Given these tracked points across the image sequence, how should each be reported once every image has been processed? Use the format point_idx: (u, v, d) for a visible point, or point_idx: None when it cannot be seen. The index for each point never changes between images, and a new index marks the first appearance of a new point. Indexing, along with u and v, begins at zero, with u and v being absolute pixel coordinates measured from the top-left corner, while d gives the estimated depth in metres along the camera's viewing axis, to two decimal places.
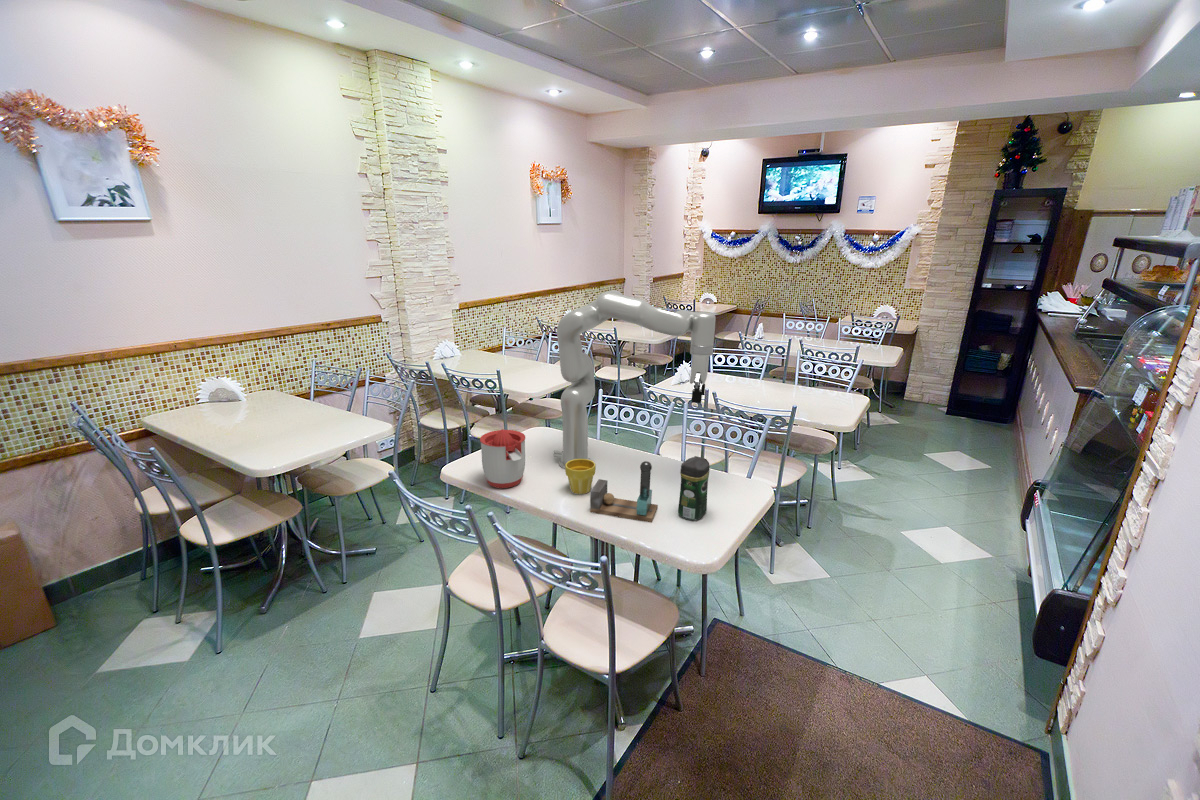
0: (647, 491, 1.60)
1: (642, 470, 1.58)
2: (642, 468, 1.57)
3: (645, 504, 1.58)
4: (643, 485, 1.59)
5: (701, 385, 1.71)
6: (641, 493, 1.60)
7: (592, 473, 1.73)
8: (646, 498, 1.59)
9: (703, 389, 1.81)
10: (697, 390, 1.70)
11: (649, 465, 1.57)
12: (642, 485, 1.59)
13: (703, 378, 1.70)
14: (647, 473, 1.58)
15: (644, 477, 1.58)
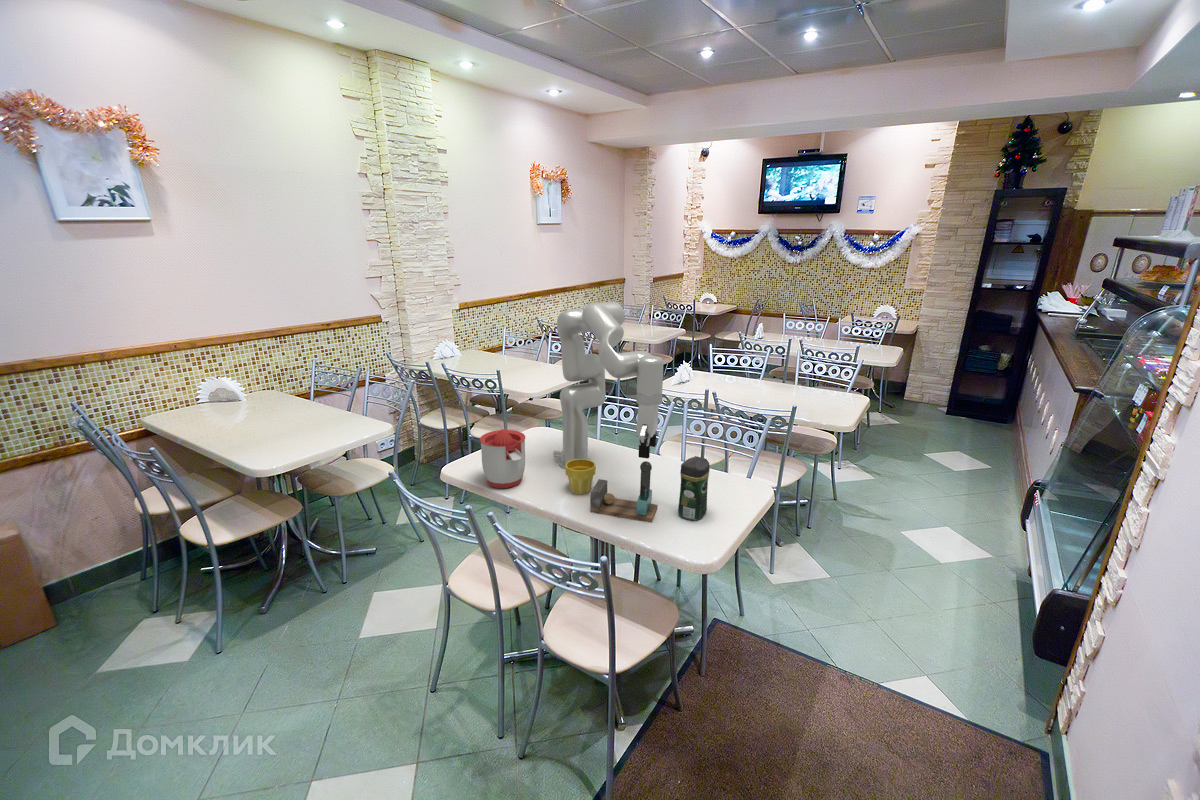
0: (647, 491, 1.60)
1: (642, 470, 1.58)
2: (642, 468, 1.57)
3: (645, 504, 1.58)
4: (643, 485, 1.59)
5: (648, 439, 1.50)
6: (641, 493, 1.60)
7: (592, 473, 1.73)
8: (646, 498, 1.59)
9: (654, 440, 1.60)
10: (644, 444, 1.49)
11: (649, 465, 1.57)
12: (642, 485, 1.59)
13: (650, 431, 1.49)
14: (647, 473, 1.58)
15: (644, 477, 1.58)
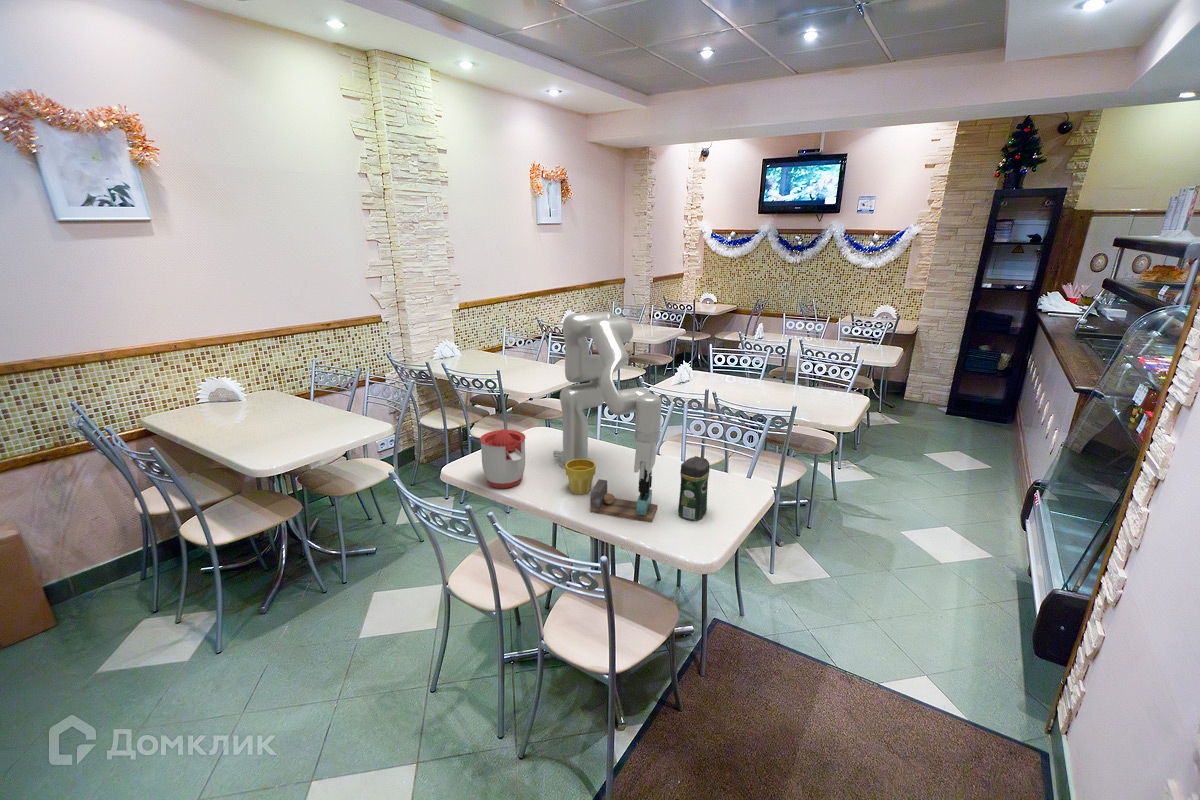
0: None
1: None
2: None
3: (645, 504, 1.58)
4: None
5: (647, 476, 1.56)
6: (641, 493, 1.60)
7: (592, 473, 1.73)
8: (646, 498, 1.59)
9: (650, 481, 1.61)
10: (643, 480, 1.56)
11: None
12: None
13: (648, 467, 1.53)
14: None
15: None
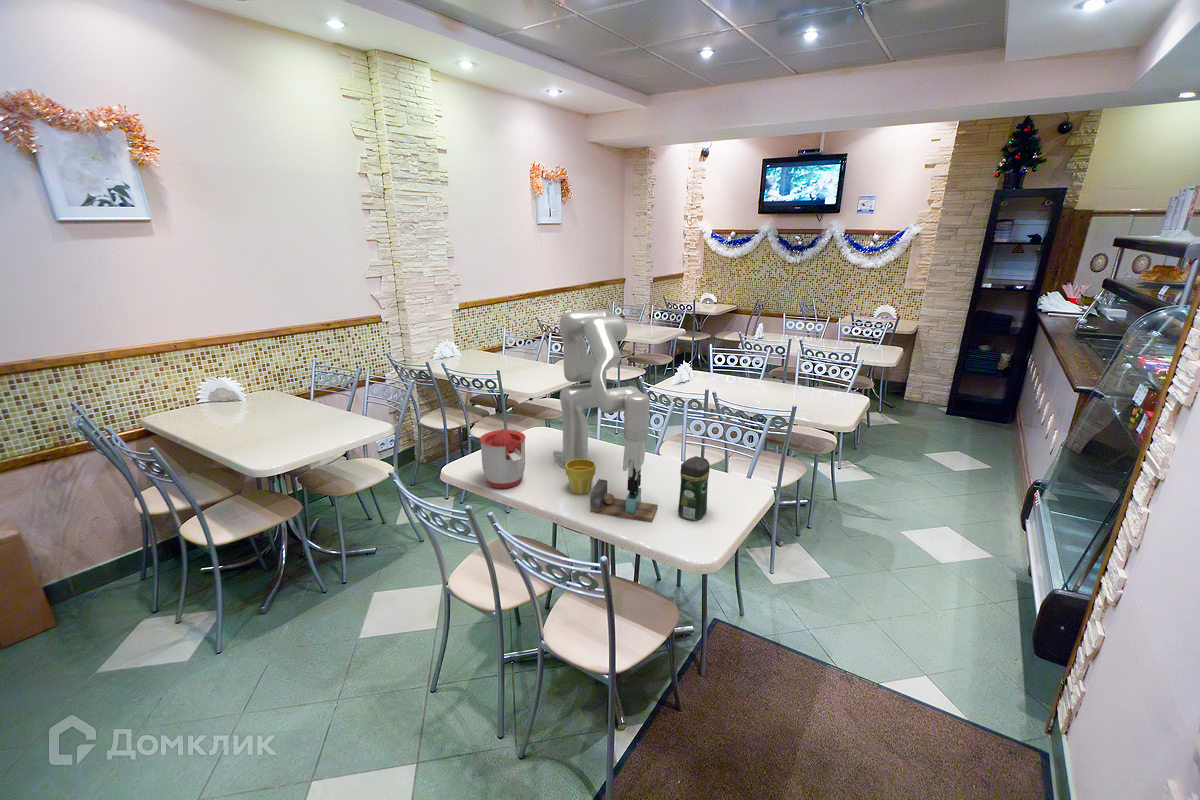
0: None
1: None
2: None
3: (634, 502, 1.59)
4: None
5: (636, 474, 1.57)
6: (630, 491, 1.61)
7: (592, 473, 1.73)
8: (635, 496, 1.60)
9: (639, 480, 1.62)
10: (632, 479, 1.57)
11: None
12: None
13: (637, 466, 1.54)
14: None
15: None
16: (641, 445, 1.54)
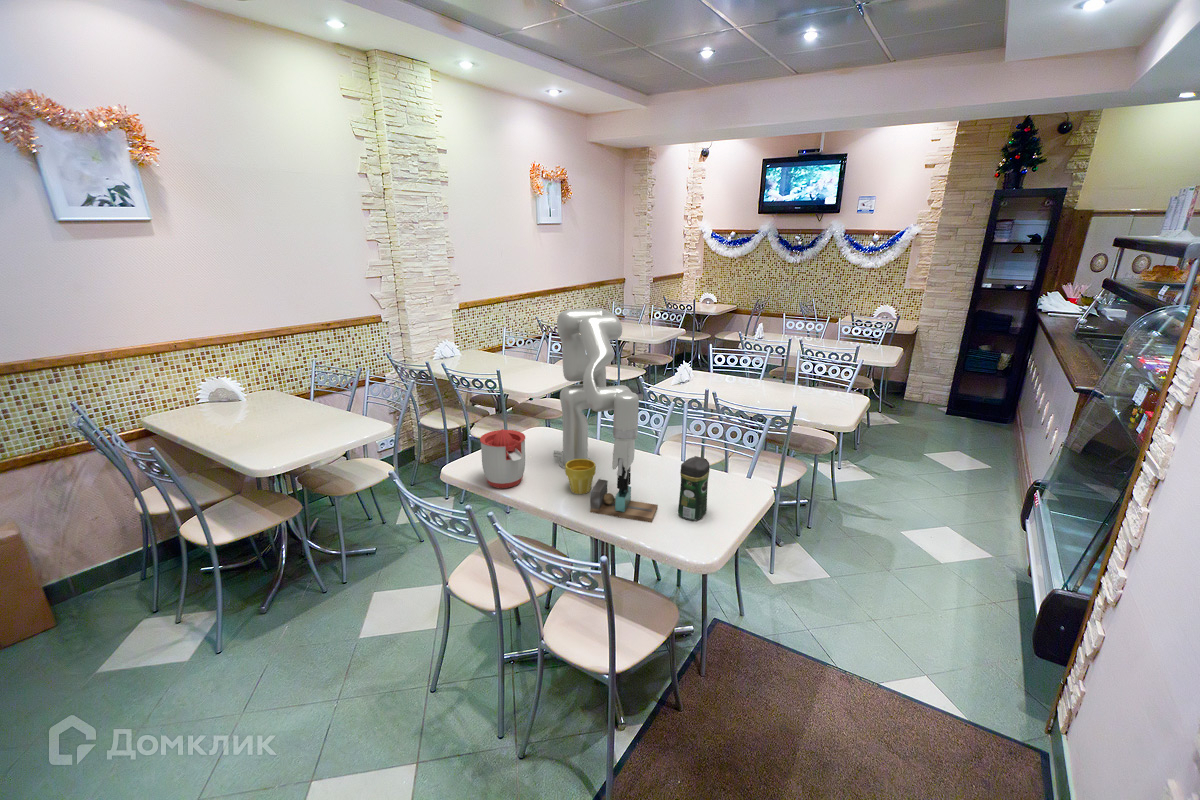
0: None
1: None
2: None
3: (623, 501, 1.60)
4: None
5: (625, 473, 1.58)
6: (620, 490, 1.62)
7: (592, 473, 1.73)
8: (624, 495, 1.61)
9: None
10: (622, 477, 1.58)
11: None
12: None
13: (626, 464, 1.55)
14: None
15: None
16: (630, 444, 1.55)
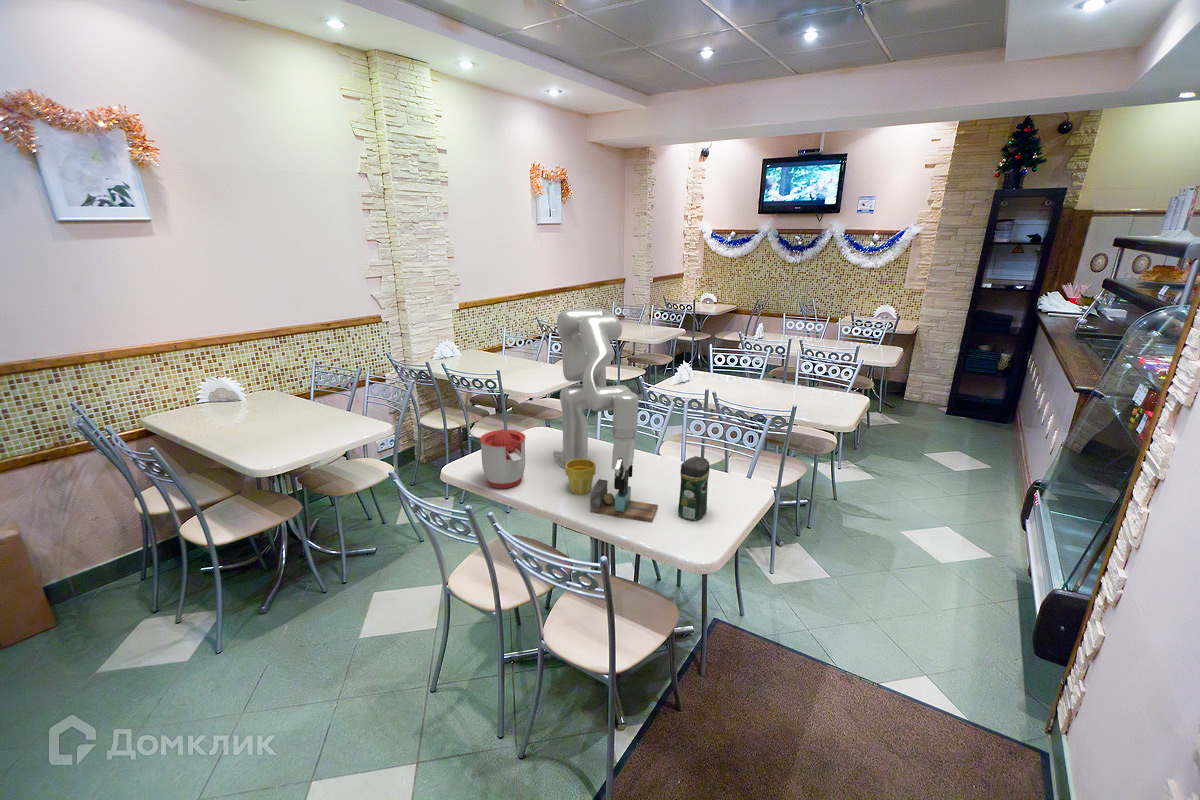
0: (625, 488, 1.62)
1: None
2: None
3: (623, 501, 1.60)
4: None
5: (623, 472, 1.56)
6: (619, 490, 1.62)
7: (592, 473, 1.73)
8: (624, 495, 1.61)
9: (630, 471, 1.66)
10: (619, 477, 1.55)
11: None
12: None
13: (625, 464, 1.55)
14: None
15: None
16: (630, 444, 1.55)
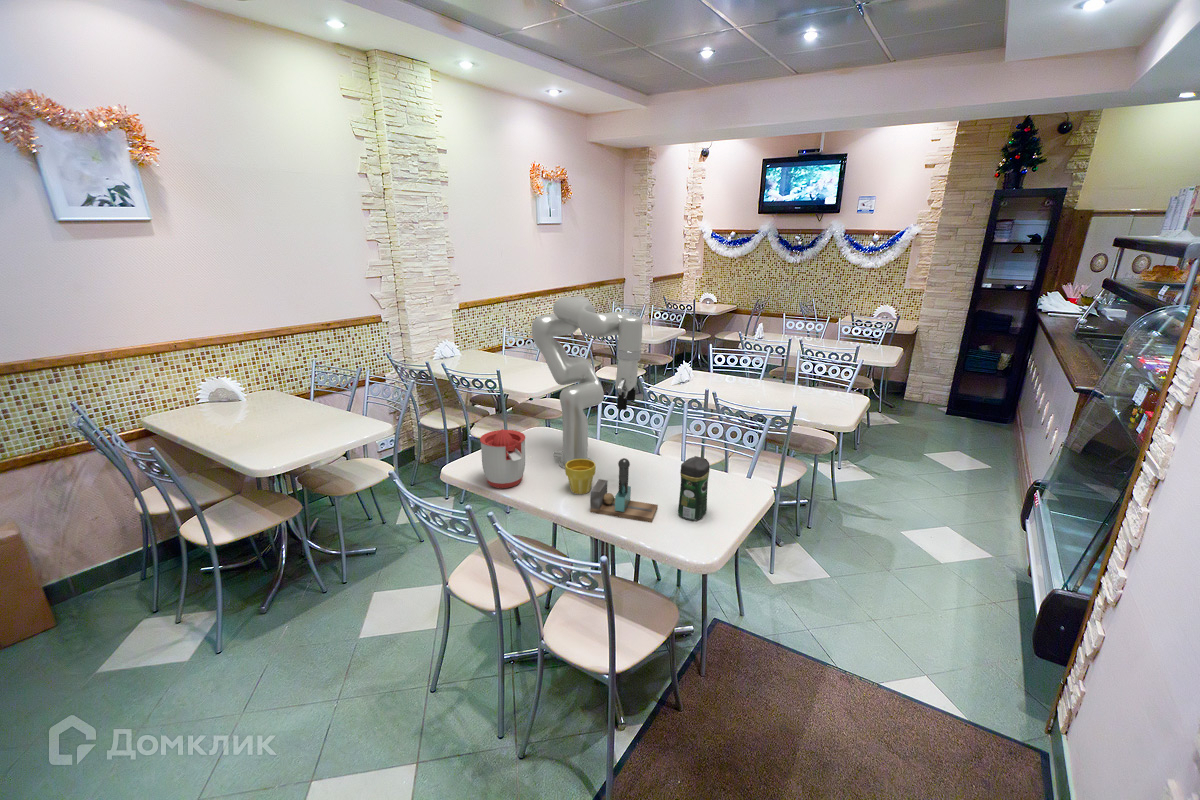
0: (625, 488, 1.62)
1: (620, 467, 1.60)
2: (620, 465, 1.59)
3: (623, 501, 1.60)
4: (622, 482, 1.61)
5: (626, 392, 1.64)
6: (619, 490, 1.62)
7: (592, 473, 1.73)
8: (624, 495, 1.61)
9: (633, 395, 1.74)
10: (621, 397, 1.64)
11: (627, 462, 1.59)
12: (620, 482, 1.61)
13: (628, 385, 1.64)
14: (625, 470, 1.60)
15: (622, 474, 1.60)
16: (633, 365, 1.64)
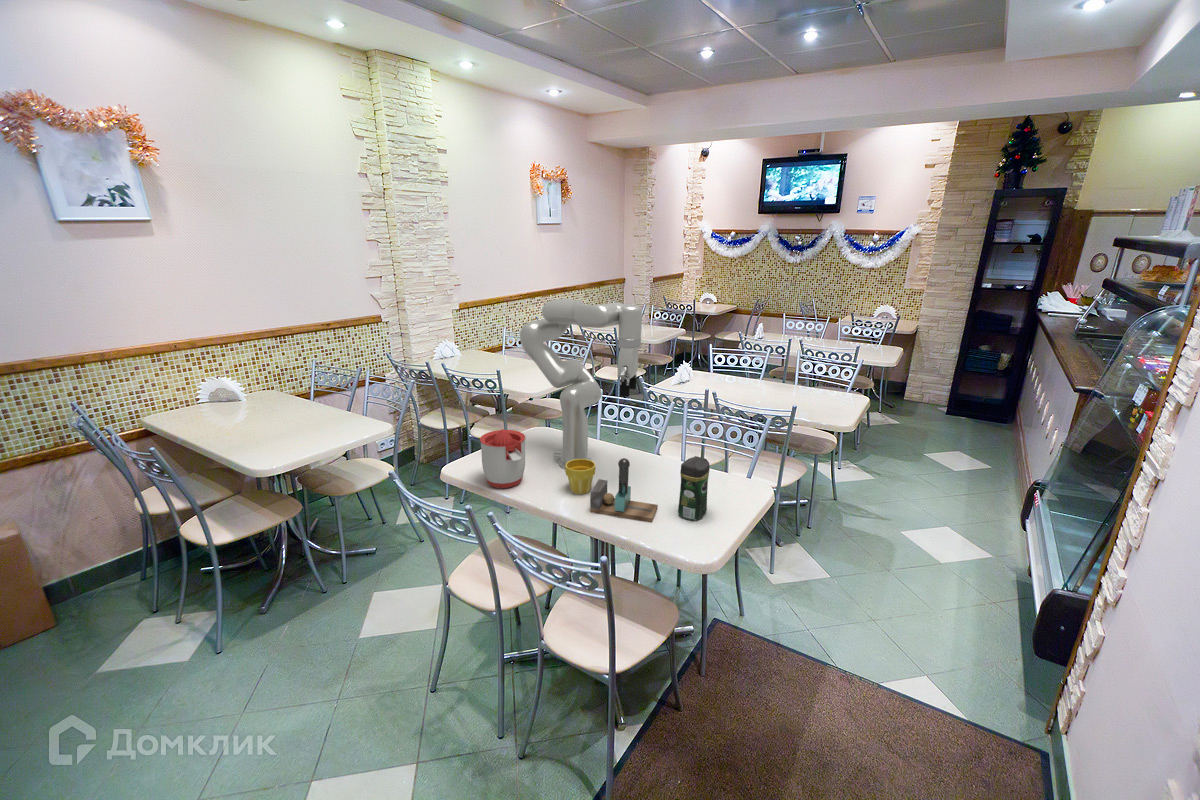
0: (625, 488, 1.62)
1: (620, 467, 1.60)
2: (620, 465, 1.59)
3: (623, 501, 1.60)
4: (622, 482, 1.61)
5: (628, 379, 1.69)
6: (619, 490, 1.62)
7: (592, 473, 1.73)
8: (624, 495, 1.61)
9: (634, 383, 1.79)
10: (624, 384, 1.69)
11: (627, 462, 1.59)
12: (620, 482, 1.61)
13: (630, 372, 1.69)
14: (625, 470, 1.60)
15: (622, 474, 1.60)
16: (634, 353, 1.69)
